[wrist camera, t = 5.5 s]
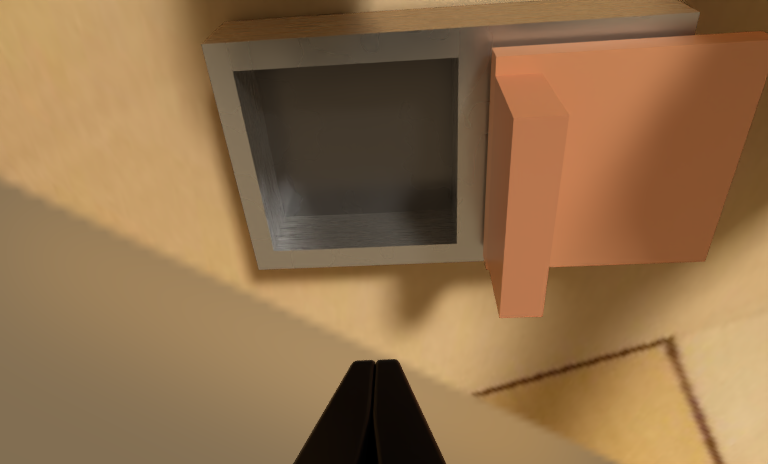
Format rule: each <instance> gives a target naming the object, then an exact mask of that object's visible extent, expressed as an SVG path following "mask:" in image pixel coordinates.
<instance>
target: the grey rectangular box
mask: <svg viewBox="0 0 768 464" xmlns="http://www.w3.org/2000/svg"><path fill="white" fill-rule="evenodd" d="M699 15H700V12H699V11H697V10H695V9H693V8H691V7H690V6H688V5H686V4H684V3H682V2H680V1H678V0H541V1H526V2H511V3H496V4H481V5H466V6H451V7H436V8H421V9H406V10H391V11H376V12H361V13H346V14H331V15H316V16H301V17H286V18H271V19H256V20H241V21H226V22H224V23H223V24H222V25H221V26H220V27H219V28H218V29H217V30H216V31H215V32H214V33H213V34H211V35H210V36H209V37H208V38H207V39H206V40H205V41H204V42H203V43H202V44H201V45H202V49H203V53H204V57H205V61H206V65H207V69H208V73H209V77H210V81H211V85H212V89H213V92H214V96H215V100H216V104H217V108H218V112H219V116H220V120H221V124H222V128H223V132H224V136H225V139H226V143H227V147H228V151H229V155H230V159H231V163H232V167H233V171H234V175H235V179H236V182H237V186H238V190H239V194H240V198H241V202H242V206H243V210H244V214H245V218H246V222H247V226H248V229H249V233H250V237H251V241H252V245H253V249H254V253H255V257H256V261H257V265H258V269H259V270H266V269H291V268H317V267H343V266H369V265H394V264H420V263H446V262H472V261H484V258H483V242H484V220H485V197H486V174H487V151H488V128H489V105H490V82H491V59H492V48H495V47H511V46H528V45H544V44H560V43H576V42H592V41H608V40H624V39H641V38H657V37H673V36H689V35H695V31H696V27H697V23H698V19H699Z"/></svg>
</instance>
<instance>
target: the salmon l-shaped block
mask: <svg viewBox="0 0 768 464" xmlns="http://www.w3.org/2000/svg"><path fill="white" fill-rule="evenodd" d="M767 76H768V33H765V32H763V31H753V32H737V33H721V34H705V35H689V36H673V37H657V38H641V39H624V40H608V41H592V42H576V43H560V44H544V45H528V46H511V47H495V48H492V59H491V82H490V105H489V128H488V151H487V174H486V197H485V220H484V242H483V258H484V262H485V267H486V270H489V271H490V276H491V281H492V285H493V290H494V295H495V299H496V304H497V309H498V313H499V318H512V317H543V310H544V302H545V295H546V287H547V280H548V272H549V267H568V266H595V265H621V264H648V263H674V262H700V261H705V260H706V257H707V254H708V251H709V248H710V245H711V242H712V239H713V236H714V233H715V230H716V227H717V224H718V221H719V218H720V215H721V212H722V209H723V206H724V203H725V200H726V197H727V195H728V192H729V189H730V186H731V183H732V180H733V177H734V174H735V171H736V168H737V165H738V162H739V159H740V156H741V153H742V150H743V147H744V144H745V141H746V138H747V135H748V132H749V129H750V126H751V123H752V121H753V118H754V115H755V112H756V109H757V106H758V103H759V100H760V97H761V94H762V91H763V88H764V85H765V82H766V79H767Z"/></svg>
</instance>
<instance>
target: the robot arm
mask: <svg viewBox="0 0 768 464" xmlns="http://www.w3.org/2000/svg"><path fill="white" fill-rule="evenodd" d="M293 464H446V463H445V460H444V458H443V456H442V454H441V452H440V449H439V447H438V445H437V443H436V441H435V439H434V437H433V435H432V432H431V430H430V428H429V426H428V424H427V421H426V419H425V417H424V415H423V413H422V411H421V408H420V406H419V404H418V402H417V400H416V398H415V395H414V393H413V392H412V389H411V387H410V385H409V383H408V380H407V378H406V376H405V374H404V372H403V370H402V367H401V365H400V363H399V362H398V360H396V359H388V360H378V361H377V362H376V363H375V362H374V361H373V360H364V361H363V360H362V361H355V362H353V363H352V365H351V366H350V368H349V370H348V371H347V373H346V375H345V376H344V378H343V380H342V381H341V383H340V385H339V387H338V388H337V390H336V392H335V393H334V395H333V397H332V398H331V400H330V402H329V404H328V405H327V407H326V409H325V411H324V412H323V414H322V416H321V417H320V419H319V421H318V422H317V424H316V426H315V427H314V429H313V431H312V433H311V435H310V436H309V438H308V439H307V441H306V443H305V445H304V446H303V448H302V450H301V451H300V453H299V455H298V457H297V458H296V460H295V462H294V463H293Z"/></svg>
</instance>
